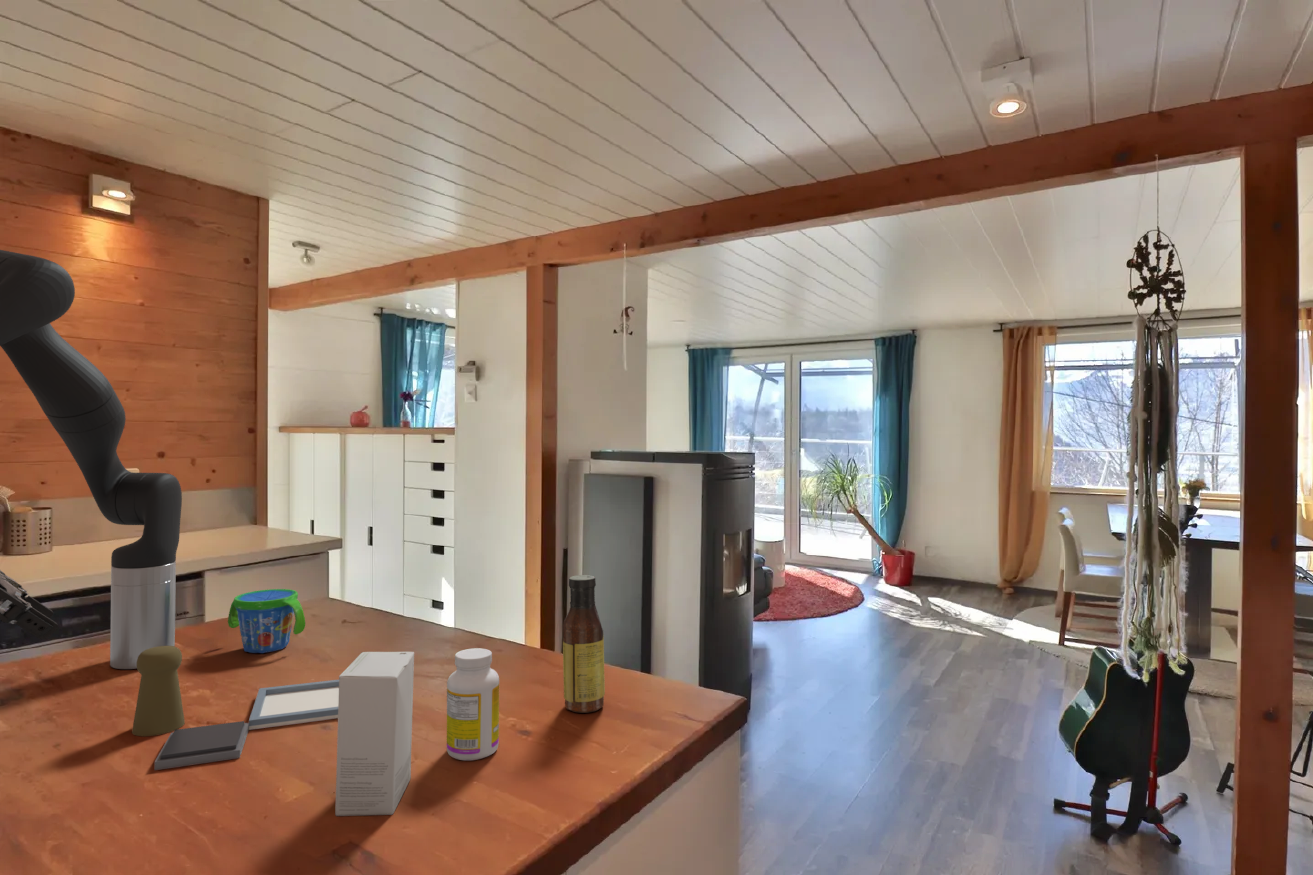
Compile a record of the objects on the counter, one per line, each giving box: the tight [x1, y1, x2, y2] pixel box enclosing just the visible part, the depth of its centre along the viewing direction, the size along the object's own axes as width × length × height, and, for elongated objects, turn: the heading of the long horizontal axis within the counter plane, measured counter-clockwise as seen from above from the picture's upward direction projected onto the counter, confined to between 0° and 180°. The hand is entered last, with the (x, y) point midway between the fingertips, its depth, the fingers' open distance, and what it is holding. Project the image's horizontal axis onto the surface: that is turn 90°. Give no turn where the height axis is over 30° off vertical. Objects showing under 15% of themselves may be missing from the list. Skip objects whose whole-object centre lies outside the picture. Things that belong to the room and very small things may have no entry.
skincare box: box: [334, 651, 415, 817], centre depth 81 cm, size 8×7×16 cm
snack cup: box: [227, 588, 306, 654], centre depth 134 cm, size 16×10×10 cm
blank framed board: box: [248, 679, 339, 731], centre depth 107 cm, size 13×13×1 cm
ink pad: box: [154, 720, 250, 771], centre depth 92 cm, size 9×9×2 cm
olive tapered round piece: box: [131, 645, 185, 737], centre depth 98 cm, size 6×6×11 cm
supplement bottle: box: [446, 647, 500, 762], centre depth 93 cm, size 7×7×13 cm
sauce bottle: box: [562, 574, 606, 714], centre depth 108 cm, size 7×6×20 cm
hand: (49, 626), depth 90 cm, fingers open, 8 cm apart
